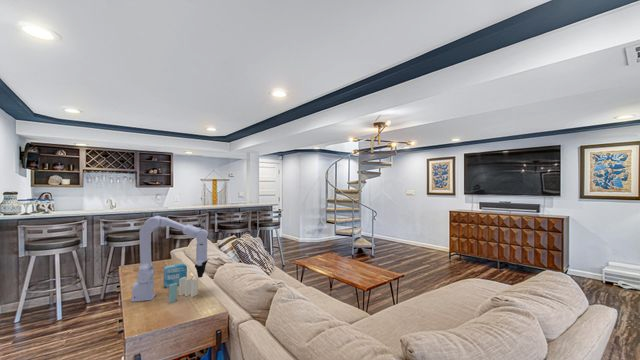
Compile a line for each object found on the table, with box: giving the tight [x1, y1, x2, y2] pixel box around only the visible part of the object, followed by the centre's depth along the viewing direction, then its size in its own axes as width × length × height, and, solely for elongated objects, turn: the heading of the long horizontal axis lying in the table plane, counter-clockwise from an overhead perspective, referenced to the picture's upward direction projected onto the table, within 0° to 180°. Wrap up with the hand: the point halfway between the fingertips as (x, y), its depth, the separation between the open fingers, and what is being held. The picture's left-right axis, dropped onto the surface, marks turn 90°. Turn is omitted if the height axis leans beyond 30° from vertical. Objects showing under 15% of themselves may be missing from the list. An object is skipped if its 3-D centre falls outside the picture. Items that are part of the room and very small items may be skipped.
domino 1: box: [178, 277, 188, 296], centre depth 158 cm, size 1×4×9 cm, turn 162°
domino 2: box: [184, 277, 193, 297], centre depth 157 cm, size 1×4×9 cm, turn 162°
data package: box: [163, 263, 188, 289], centre depth 173 cm, size 12×4×12 cm, turn 133°
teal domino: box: [168, 283, 178, 304], centre depth 147 cm, size 1×4×9 cm, turn 162°
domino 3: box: [190, 277, 199, 298], centre depth 155 cm, size 1×4×9 cm, turn 162°
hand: (201, 275), depth 160 cm, fingers open, 7 cm apart
